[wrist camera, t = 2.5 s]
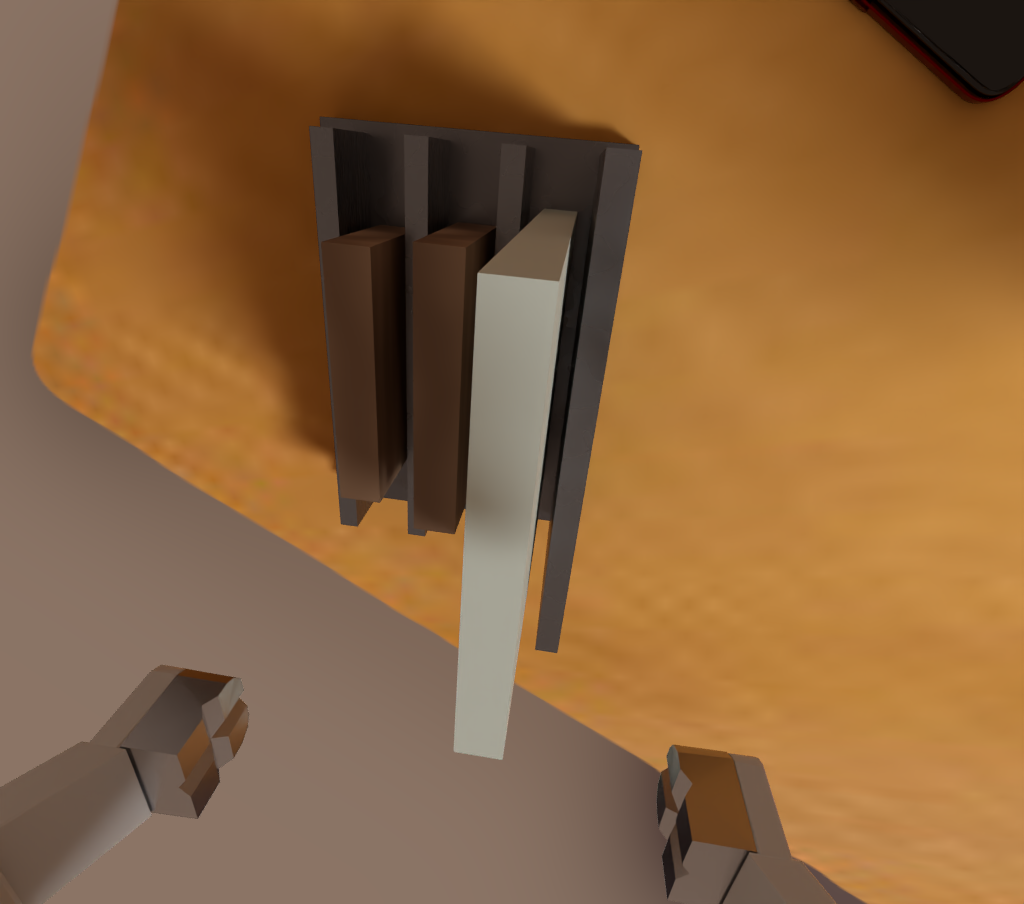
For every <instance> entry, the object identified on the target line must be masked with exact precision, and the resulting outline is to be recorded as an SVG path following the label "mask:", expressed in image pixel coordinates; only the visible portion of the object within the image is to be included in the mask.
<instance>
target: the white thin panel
mask: <svg viewBox="0 0 1024 904" xmlns="http://www.w3.org/2000/svg"><path fill="white" fill-rule="evenodd" d="M576 219H577V212H575V211H564V210H554V209H543V210H542V211H541V212H540V213H539V214H538V215H537V216H536V217H535V218H534V219H533V220H532V221H531V222H530V223H529V224H528V225H527V226H526V227H525V228H524V229H523V230H521V231H520V232H519V233H518V234H517V235H516V236H515V237H514V238H513V239H512V240H511V241H510V242H509V243H508V244H507V245H506V246H505V247H504V248H503V249H502V250H501V251H500V252H499V253H498V254H497V255H496V256H494V257H493V258H492V259H491V260H490V261H489V262H488V263H487V264H486V265H485V266H484V267H483V268H482V269H481V270H480V271H479V272H478V275H477V295H476V315H475V335H474V355H473V375H472V395H471V414H470V434H469V454H468V474H467V494H466V514H465V534H464V554H463V574H462V594H461V614H460V634H459V654H458V675H457V694H456V715H455V735H454V752H459V753H465V754H471V755H476V756H482V757H488V758H494V759H500V760H502V759H503V753H504V746H505V739H506V733H507V732H506V731H507V725H508V718H509V712H510V705H511V698H512V691H513V685H514V678H515V671H516V664H517V657H518V651H519V644H520V637H521V630H522V623H523V616H524V609H525V603H526V596H527V589H528V582H529V575H530V568H531V562H532V555H533V548H534V541H535V534H536V527H537V521H538V514H539V507H540V500H541V493H542V486H543V480H544V472H545V464H546V456H547V448H548V440H549V432H550V424H551V416H552V408H553V401H554V393H555V385H556V377H557V369H558V361H559V353H560V345H561V337H562V329H563V321H564V314H565V306H566V298H567V290H568V282H569V274H570V266H571V258H572V250H573V242H574V234H575V227H576Z"/></svg>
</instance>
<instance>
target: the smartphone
mask: <svg viewBox="0 0 1024 904" xmlns="http://www.w3.org/2000/svg"><path fill="white" fill-rule="evenodd" d="M850 1H851V2H852V3H853V4H854V5H855V6H857V7H858V8H859V9H860V10H861V11H862V12H864V13H866V12H867V13H868V14H869V15H870V16H871V17H872V18H873V19H874V20H875V21H876V22H878V23H879V24H880V25H881V26H882V27H883V28H884V29H885V30H886V31H887V32H889V33H890V34H891V35H892V36H893V37H894V38H895V39H896V40H897V41H898V42H900V43H901V44H902V45H903V46H904V47H905V48H906V49H907V50H908V51H909V52H911V53H912V54H913V55H914V56H915V57H916V58H917V59H918V60H919V61H921V62H922V63H923V64H924V65H925V66H926V67H927V68H928V69H929V70H930V71H932V72H933V73H934V74H935V75H936V76H937V77H938V78H939V79H940V80H941V81H943V82H944V83H945V84H946V85H947V86H948V87H949V88H950V89H951V90H952V91H954V92H955V93H956V94H957V95H958V96H959V97H960V98H962V99H963V100H965V101H967V102H970V103H974V104H980V103H986V102H991V101H994V100H997V99H999V98H1001V97H1003V96H1005V95H1006V94H1008V93H1009V92H1011V91H1012V90H1013V89H1015V88H1016V87H1017V86H1018V85H1019V84H1021V83H1022V82H1023V81H1024V0H850ZM988 97H989V98H988ZM980 98H987V99H980Z"/></svg>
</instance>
